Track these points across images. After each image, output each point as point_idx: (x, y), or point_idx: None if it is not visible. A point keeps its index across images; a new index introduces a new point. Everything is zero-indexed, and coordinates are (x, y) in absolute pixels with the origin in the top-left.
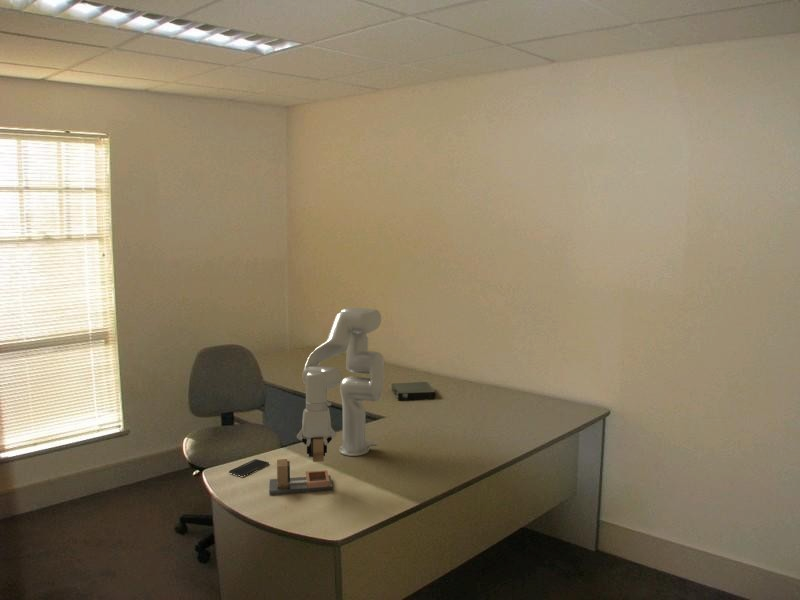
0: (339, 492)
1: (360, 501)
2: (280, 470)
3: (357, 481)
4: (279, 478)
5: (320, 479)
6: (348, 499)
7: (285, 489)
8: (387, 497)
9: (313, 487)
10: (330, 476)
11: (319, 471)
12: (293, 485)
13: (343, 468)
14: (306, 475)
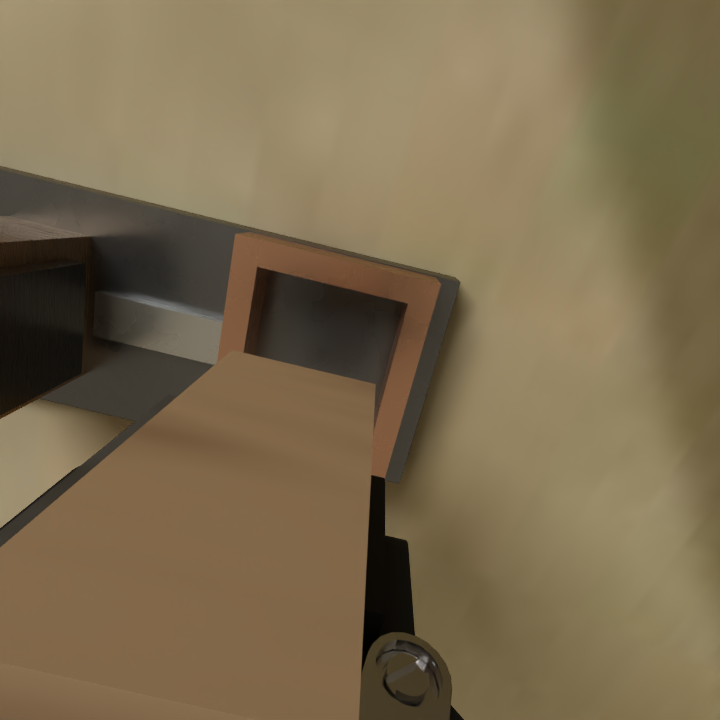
0: (430, 510)
1: (496, 652)
2: None
3: (627, 404)
4: None
5: (353, 335)
6: (444, 608)
7: (66, 400)
8: (664, 671)
9: None
10: (451, 311)
11: (360, 282)
12: (128, 358)
13: (668, 81)
14: (224, 323)
